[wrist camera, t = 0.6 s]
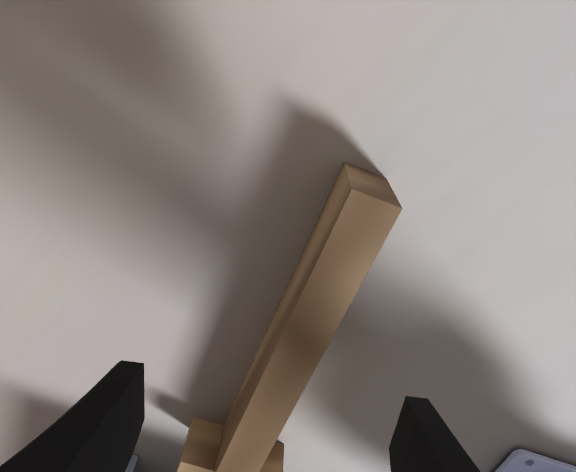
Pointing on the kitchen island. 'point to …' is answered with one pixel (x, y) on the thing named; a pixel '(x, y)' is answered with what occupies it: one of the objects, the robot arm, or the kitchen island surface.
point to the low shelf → (132, 463)
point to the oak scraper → (299, 328)
